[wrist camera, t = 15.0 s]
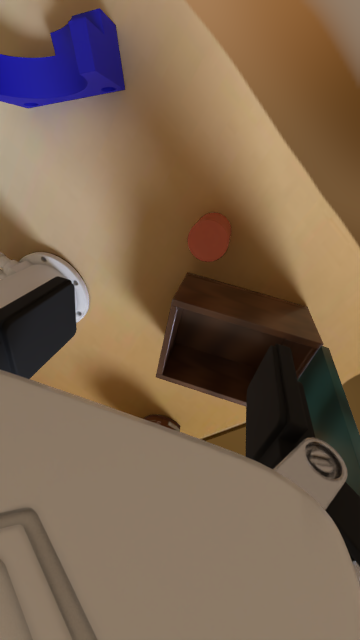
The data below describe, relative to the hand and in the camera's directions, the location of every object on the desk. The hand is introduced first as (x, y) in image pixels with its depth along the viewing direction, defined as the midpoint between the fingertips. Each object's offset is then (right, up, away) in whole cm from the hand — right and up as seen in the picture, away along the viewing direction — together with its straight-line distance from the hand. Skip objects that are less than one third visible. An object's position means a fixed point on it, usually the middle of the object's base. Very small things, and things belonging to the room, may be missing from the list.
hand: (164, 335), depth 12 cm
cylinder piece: (+5, +12, +19) cm, 23 cm away
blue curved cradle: (-11, +27, +14) cm, 32 cm away
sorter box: (+8, 0, +25) cm, 27 cm away
